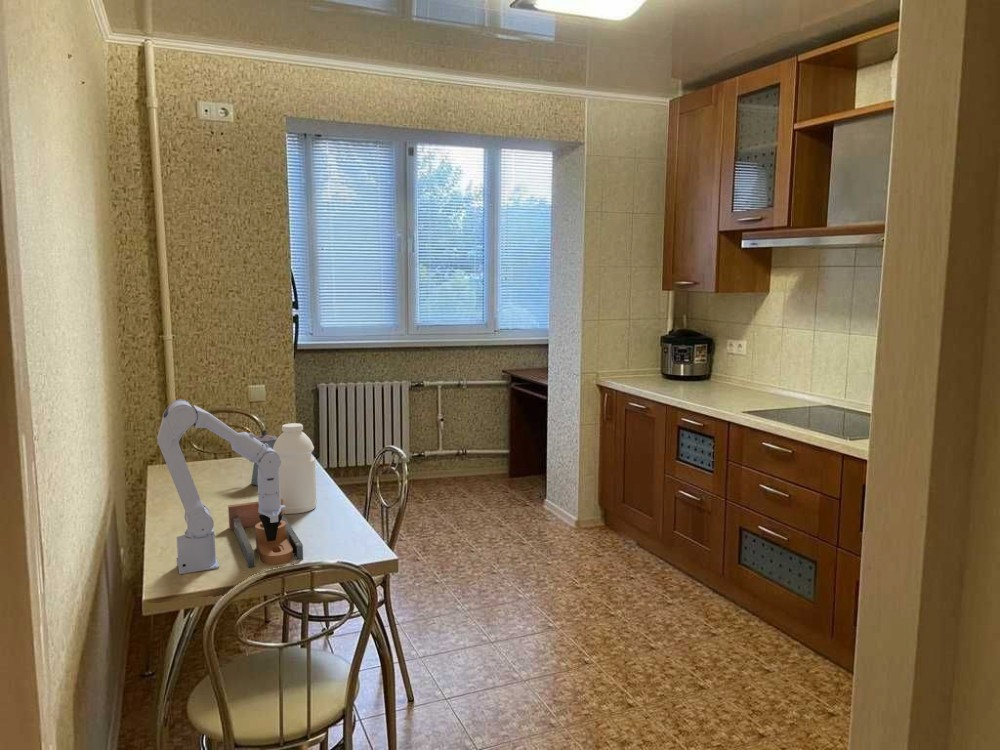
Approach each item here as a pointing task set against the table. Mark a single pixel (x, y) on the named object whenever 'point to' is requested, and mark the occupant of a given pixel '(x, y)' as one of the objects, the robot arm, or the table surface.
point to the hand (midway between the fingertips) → (271, 540)
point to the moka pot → (270, 441)
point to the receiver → (249, 517)
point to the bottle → (296, 469)
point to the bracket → (273, 546)
